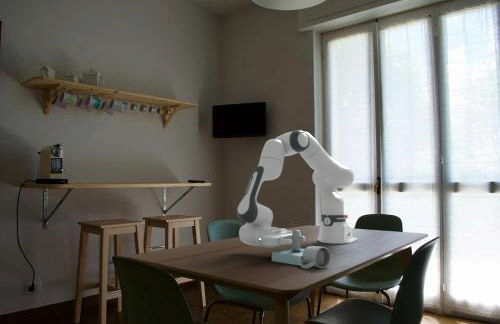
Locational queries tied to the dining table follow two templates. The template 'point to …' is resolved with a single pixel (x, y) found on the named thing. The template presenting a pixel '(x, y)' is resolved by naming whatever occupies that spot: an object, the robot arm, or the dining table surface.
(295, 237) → the pin
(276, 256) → the socket block
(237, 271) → the dining table surface
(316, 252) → the ceramic mug
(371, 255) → the dining table surface
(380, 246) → the dining table surface
